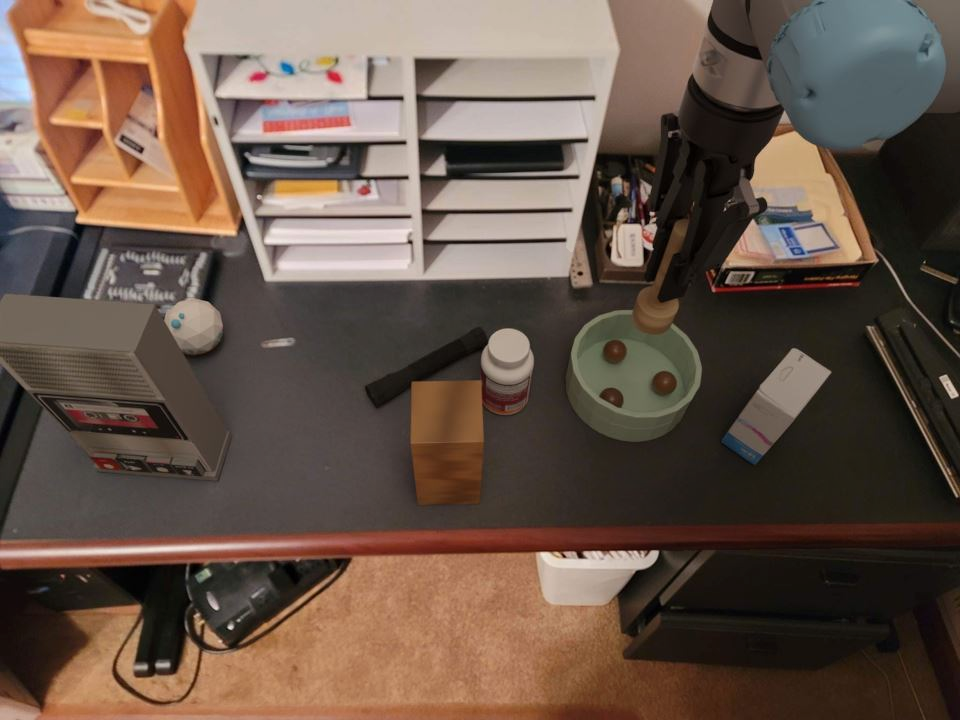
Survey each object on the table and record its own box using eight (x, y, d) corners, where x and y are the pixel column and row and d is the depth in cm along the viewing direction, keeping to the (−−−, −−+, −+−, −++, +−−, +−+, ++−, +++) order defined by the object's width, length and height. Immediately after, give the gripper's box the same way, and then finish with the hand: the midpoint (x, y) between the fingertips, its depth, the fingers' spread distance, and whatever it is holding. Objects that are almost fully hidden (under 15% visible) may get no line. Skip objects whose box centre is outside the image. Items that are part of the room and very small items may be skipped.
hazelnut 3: (677, 395, 86) (684, 382, 84) (656, 402, 86) (662, 389, 83) (666, 376, 88) (672, 363, 86) (644, 383, 87) (650, 370, 85)
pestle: (678, 330, 76) (718, 240, 64) (640, 338, 75) (673, 248, 63) (662, 300, 78) (698, 207, 66) (625, 306, 77) (655, 214, 66)
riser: (477, 448, 83) (481, 379, 70) (480, 503, 79) (484, 441, 66) (418, 449, 82) (411, 381, 70) (417, 505, 78) (410, 443, 66)
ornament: (179, 323, 92) (157, 283, 85) (234, 321, 92) (217, 282, 85) (169, 366, 88) (145, 328, 81) (226, 364, 88) (207, 326, 82)
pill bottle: (491, 367, 89) (495, 314, 80) (536, 385, 88) (545, 333, 79) (470, 405, 86) (472, 354, 77) (516, 424, 84) (524, 375, 75)
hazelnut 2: (625, 412, 85) (630, 400, 82) (603, 419, 84) (607, 407, 82) (614, 392, 86) (619, 379, 84) (592, 399, 86) (596, 386, 83)
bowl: (710, 420, 86) (726, 394, 81) (597, 458, 82) (606, 433, 77) (651, 325, 94) (662, 297, 89) (546, 356, 90) (551, 328, 85)
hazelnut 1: (628, 364, 89) (633, 350, 86) (607, 370, 88) (611, 357, 86) (617, 345, 90) (622, 332, 88) (597, 352, 90) (600, 338, 87)
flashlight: (366, 394, 86) (363, 381, 84) (475, 334, 92) (475, 320, 89) (378, 411, 85) (375, 399, 82) (488, 350, 91) (489, 336, 88)
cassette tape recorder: (97, 474, 79) (-30, 348, 59) (117, 427, 83) (3, 292, 62) (218, 484, 79) (133, 360, 58) (232, 436, 83) (157, 303, 62)
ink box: (755, 468, 82) (795, 418, 72) (719, 442, 84) (753, 390, 74) (791, 422, 86) (834, 369, 76) (755, 398, 87) (792, 343, 78)
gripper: (648, 38, 56) (598, 244, 75) (752, 159, 48) (667, 354, 67) (729, 22, 57) (660, 227, 77) (843, 136, 49) (734, 333, 69)
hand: (663, 286), depth 72 cm, fingers closed on pestle, 2 cm apart
